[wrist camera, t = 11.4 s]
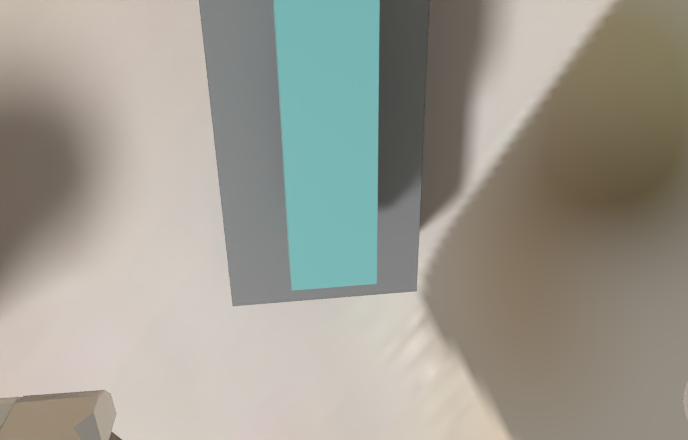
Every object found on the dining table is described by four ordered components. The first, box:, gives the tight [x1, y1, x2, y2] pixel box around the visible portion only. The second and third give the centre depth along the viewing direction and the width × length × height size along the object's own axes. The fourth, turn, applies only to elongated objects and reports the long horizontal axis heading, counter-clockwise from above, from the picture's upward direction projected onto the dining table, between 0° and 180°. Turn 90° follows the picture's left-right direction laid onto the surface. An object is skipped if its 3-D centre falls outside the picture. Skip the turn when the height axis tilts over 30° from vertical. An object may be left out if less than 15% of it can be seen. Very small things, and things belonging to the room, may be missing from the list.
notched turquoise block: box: [273, 0, 380, 291], centre depth 22 cm, size 10×3×7 cm, turn 1°
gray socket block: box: [199, 0, 429, 306], centre depth 24 cm, size 16×8×4 cm, turn 1°
